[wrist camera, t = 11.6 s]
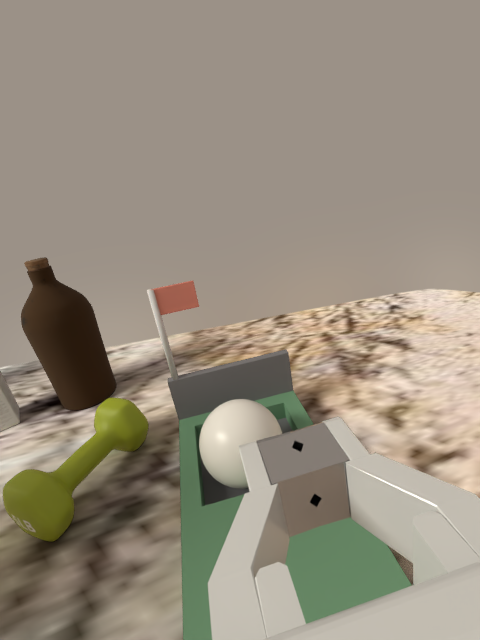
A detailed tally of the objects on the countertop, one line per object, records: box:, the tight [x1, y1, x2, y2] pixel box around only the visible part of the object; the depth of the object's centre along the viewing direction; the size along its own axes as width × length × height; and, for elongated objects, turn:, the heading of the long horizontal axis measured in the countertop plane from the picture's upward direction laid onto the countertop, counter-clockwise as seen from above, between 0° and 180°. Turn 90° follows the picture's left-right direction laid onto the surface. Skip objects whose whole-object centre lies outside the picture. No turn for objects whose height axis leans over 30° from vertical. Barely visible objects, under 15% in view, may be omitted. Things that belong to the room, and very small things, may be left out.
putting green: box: [147, 281, 412, 640], centre depth 29 cm, size 31×16×21 cm, turn 11°
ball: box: [199, 399, 282, 489], centre depth 36 cm, size 9×9×9 cm
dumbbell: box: [3, 398, 149, 542], centre depth 40 cm, size 16×8×7 cm, turn 156°
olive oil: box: [21, 258, 116, 410], centre depth 56 cm, size 11×11×25 cm
